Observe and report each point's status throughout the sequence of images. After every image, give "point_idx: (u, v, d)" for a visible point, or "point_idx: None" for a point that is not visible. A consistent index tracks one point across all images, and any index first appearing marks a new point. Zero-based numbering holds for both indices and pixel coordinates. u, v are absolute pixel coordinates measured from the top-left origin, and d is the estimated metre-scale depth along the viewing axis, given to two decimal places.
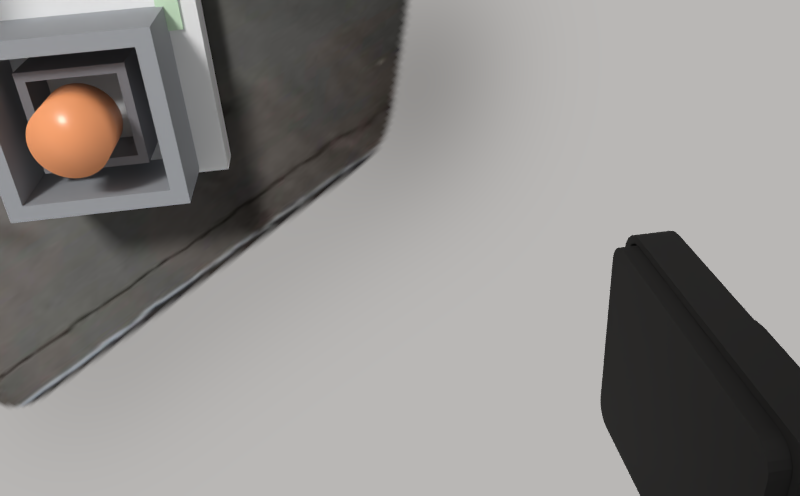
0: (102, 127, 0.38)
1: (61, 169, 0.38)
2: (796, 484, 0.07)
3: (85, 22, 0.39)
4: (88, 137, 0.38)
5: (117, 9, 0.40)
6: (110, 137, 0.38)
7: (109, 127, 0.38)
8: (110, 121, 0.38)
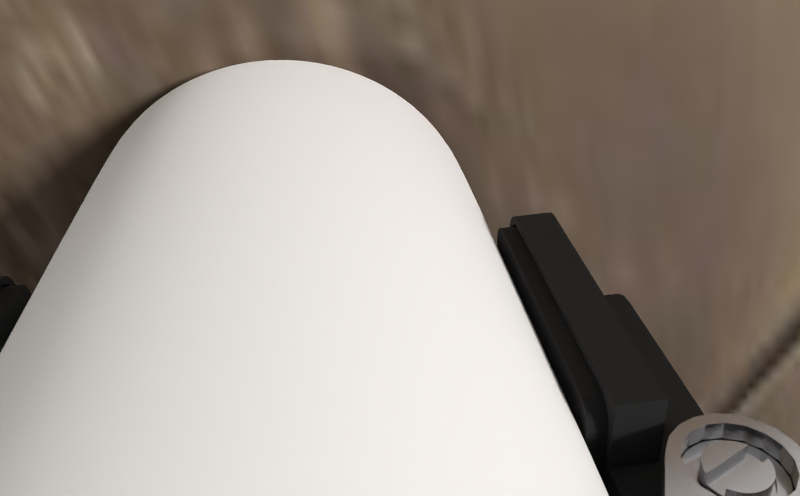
0: None
1: None
2: (610, 435, 0.07)
3: None
4: None
5: None
6: None
7: None
8: None
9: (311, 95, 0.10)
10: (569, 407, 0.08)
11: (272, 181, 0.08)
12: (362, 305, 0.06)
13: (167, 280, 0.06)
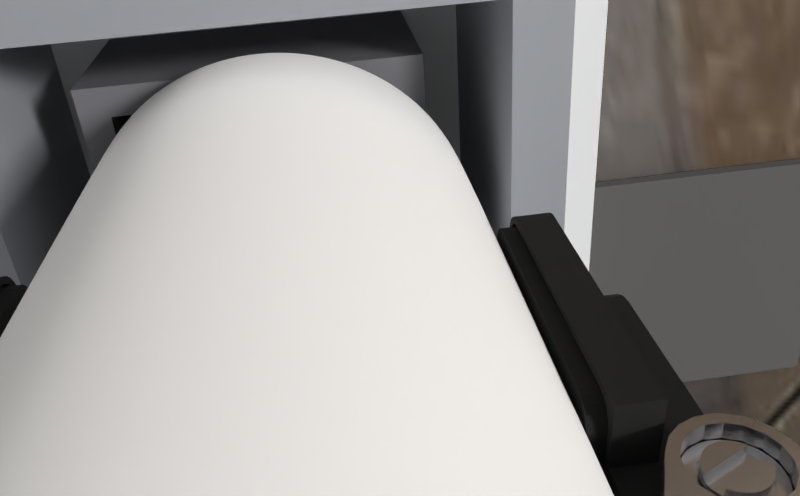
0: None
1: None
2: (610, 436, 0.07)
3: None
4: None
5: None
6: None
7: None
8: None
9: (310, 87, 0.10)
10: None
11: (270, 170, 0.08)
12: (361, 293, 0.06)
13: (165, 267, 0.06)
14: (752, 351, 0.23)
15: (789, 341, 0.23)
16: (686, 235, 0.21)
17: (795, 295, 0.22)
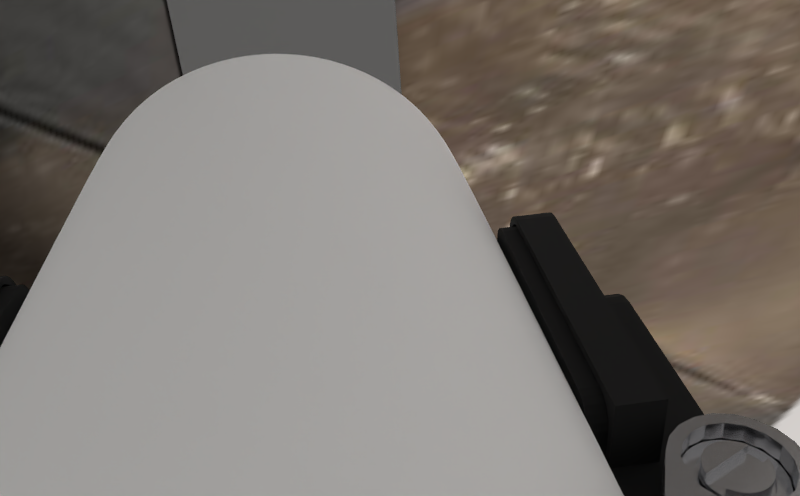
0: None
1: None
2: (610, 435, 0.07)
3: None
4: None
5: None
6: None
7: None
8: None
9: (309, 88, 0.10)
10: None
11: (274, 171, 0.08)
12: (372, 292, 0.06)
13: (174, 269, 0.06)
14: None
15: None
16: (340, 16, 0.24)
17: None
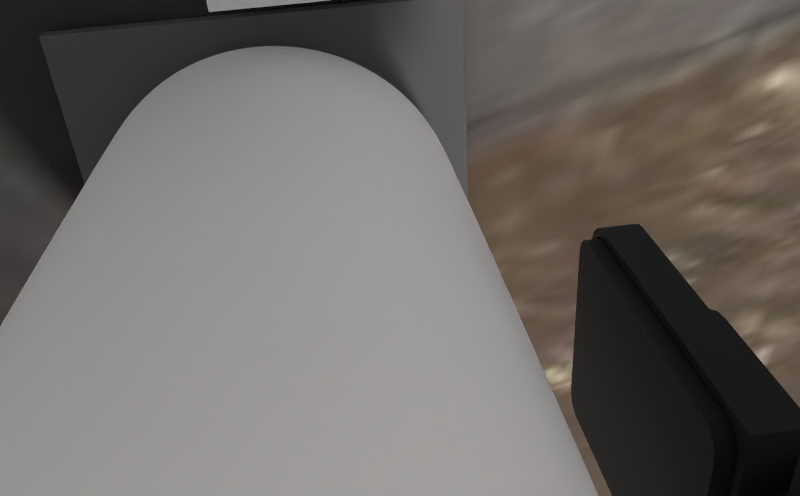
0: None
1: None
2: (740, 466, 0.07)
3: None
4: None
5: None
6: None
7: None
8: None
9: (307, 75, 0.11)
10: (533, 348, 0.08)
11: (270, 142, 0.09)
12: (348, 239, 0.07)
13: (177, 217, 0.07)
14: None
15: None
16: None
17: None
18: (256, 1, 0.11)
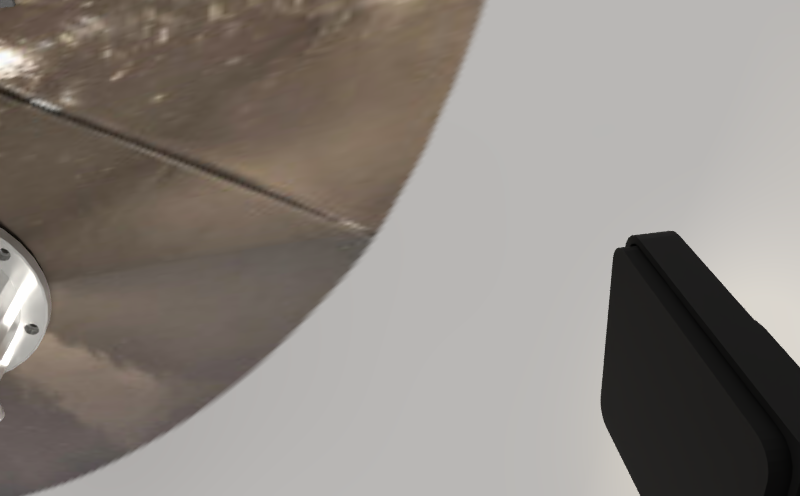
0: None
1: None
2: (796, 484, 0.07)
3: None
4: None
5: None
6: None
7: None
8: None
9: None
10: None
11: None
12: None
13: None
14: None
15: None
16: None
17: None
18: None
